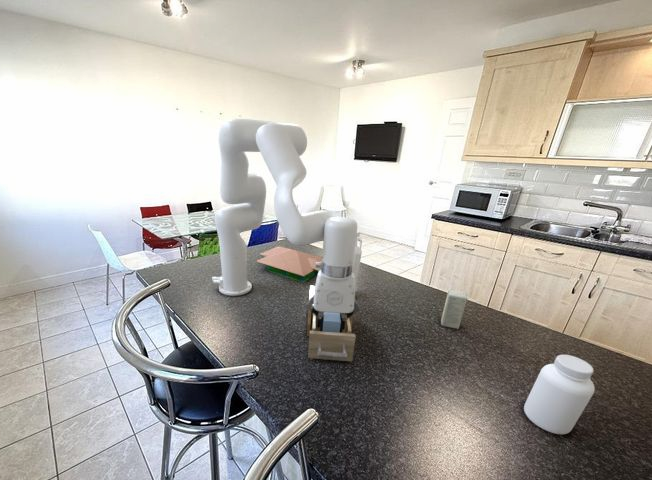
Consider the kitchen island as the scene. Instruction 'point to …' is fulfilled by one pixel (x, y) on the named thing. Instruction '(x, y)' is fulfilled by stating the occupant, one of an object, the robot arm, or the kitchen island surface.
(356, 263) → the white spray bottle
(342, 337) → the drawer
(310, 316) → the cabinet
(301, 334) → the kitchen island surface
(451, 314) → the box
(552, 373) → the pill bottle
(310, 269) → the house
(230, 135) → the robot arm
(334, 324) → the block
